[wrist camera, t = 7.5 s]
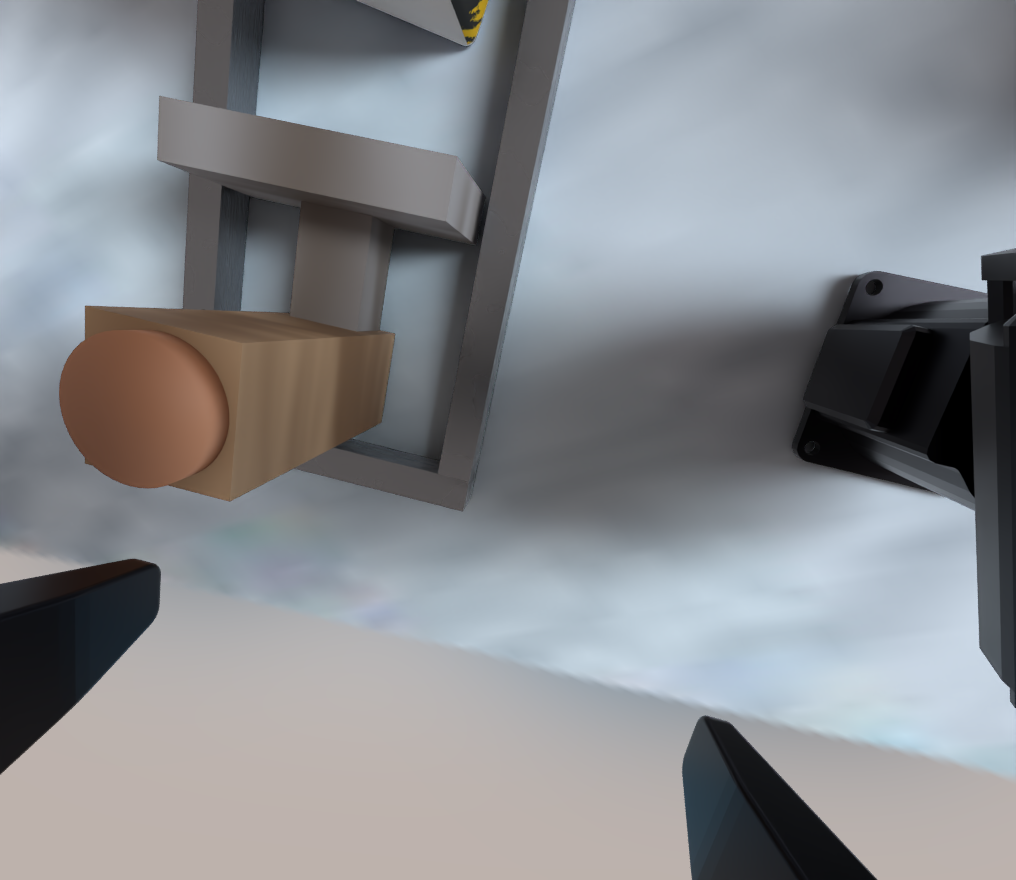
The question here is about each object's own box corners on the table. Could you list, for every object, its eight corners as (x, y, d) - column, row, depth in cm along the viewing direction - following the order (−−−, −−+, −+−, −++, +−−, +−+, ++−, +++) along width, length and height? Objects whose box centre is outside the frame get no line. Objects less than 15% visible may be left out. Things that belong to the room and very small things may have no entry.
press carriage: (486, 197, 17) (384, 51, 8) (441, 437, 20) (319, 543, 10) (259, 150, 18) (-84, -37, 9) (240, 388, 20) (-50, 445, 11)
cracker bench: (649, -351, 14) (721, -995, 7) (470, 497, 20) (418, 586, 13) (256, -399, 15) (-16, -1019, 8) (203, 430, 21) (28, 481, 14)
